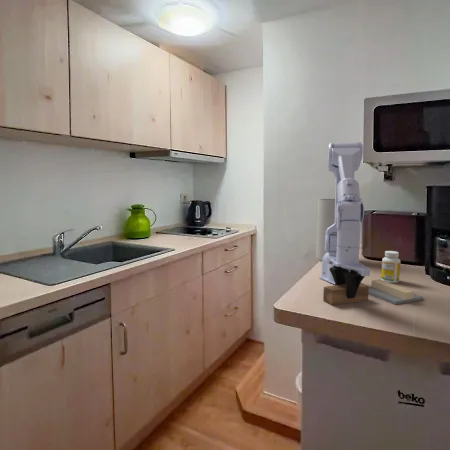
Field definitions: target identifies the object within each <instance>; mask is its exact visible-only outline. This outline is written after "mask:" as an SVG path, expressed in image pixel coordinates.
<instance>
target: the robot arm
mask: <svg viewBox="0 0 450 450" xmlns="http://www.w3.org/2000/svg"><path fill="white" fill-rule="evenodd" d="M363 147H364V146H363V143H362V142H361V141H358V142H335V143H333V142H330V143H329V144H328V148H327V168H328V171H330V172H331V173H333V174H334V178H335V179H334V180H335V186H334V187H335V188H334V189H335V190H334V191H335V192H334V199H335V223H334V224H333V225H331V226H330V227H328V228H327V230H326V235H325V251H326V254H325V255H324V256H323V259H322V261H321V262H322V263H321V276H319V279H322V281H326V282H327V283H330V284H333V285H341V284H346V293H347V298H349V299H350V298H355V296H356V293H357V290H358V287H359V285H360V283H362V281H363V280H364V278H366V277H370V276H371V268H370V267H367V266H366V265H364V264H362V263H361V262H360V248H361V247H360V244H361V228H362V227H361V225H362V223H363V222H364V221H363V220H364V217H365V205H364V201H363V198H362V197H361V192H360V184H359V181H358V180H356V179H355V172H356V171H358V170H359V168H360V166H361V163H362V159H363V153H364V151H363V150H364V148H363ZM331 233H337V234H331Z"/></svg>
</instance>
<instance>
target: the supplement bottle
mask: <svg viewBox="0 0 450 450" xmlns="http://www.w3.org/2000/svg"><path fill="white" fill-rule="evenodd" d="M399 254H400V253H399V252H398V251H397V250H395V251H394V250H385V251H384V257H382V260H381V271H380V273H381V274H380V275H381V276H380V280H383V281H385V282H388V283H391V284H396V283H399V281H400V275H401V274H400V273H401V259H400V258H399V256H400V255H399Z"/></svg>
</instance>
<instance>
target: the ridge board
mask: <svg viewBox="0 0 450 450" xmlns="http://www.w3.org/2000/svg"><path fill="white" fill-rule="evenodd" d="M368 295H372V297H373V296H374V297H375V298H378V299H381V300H383V301H386V302H388V303H390V304H393V305H401V304H405V303H412V302H418V301H419V302H420V301H423V300H424V296H421V295H418V294H415V291H414V290H411V289H408V288H405V287H402V286H399V285H396V284H395V283H388V282H385V281H383V280H381V278H380V279H372V280H371V286H369V291H368Z"/></svg>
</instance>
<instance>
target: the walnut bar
mask: <svg viewBox="0 0 450 450" xmlns="http://www.w3.org/2000/svg"><path fill="white" fill-rule="evenodd" d="M369 287H370V285H368V284H366V283H364V282H361V283H360V285H359V287H358V290H357V293H356V296H355V298H350V299H349V298H347V293H346V284H341V285H335V284H333V285H327V286H323V295H322V296H323V298H322V299H323V302H324V303H326V304H328V305H330V306H337V305H345V304H350V303H355V302H363V301H369V294H368V291H369Z"/></svg>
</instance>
